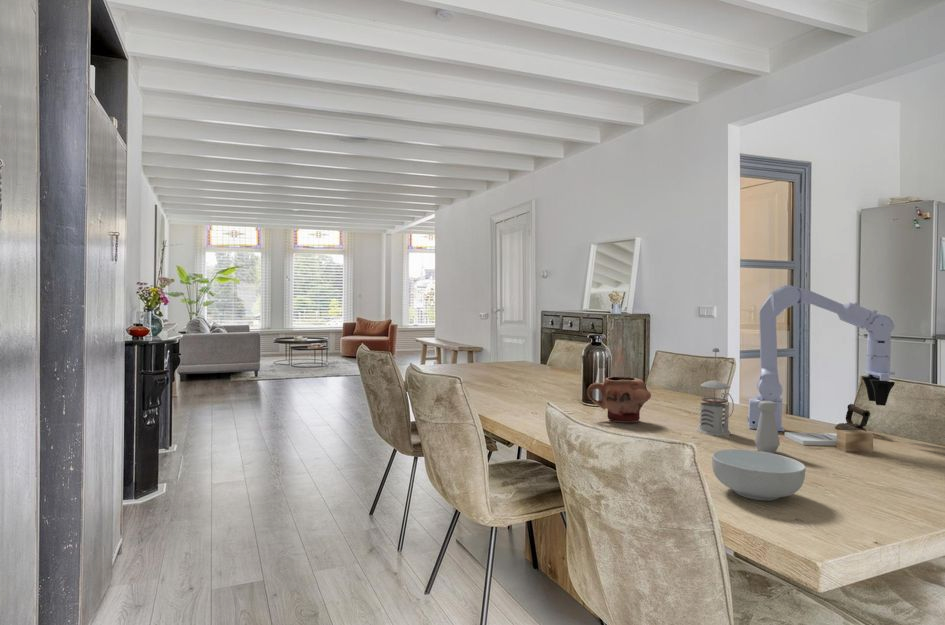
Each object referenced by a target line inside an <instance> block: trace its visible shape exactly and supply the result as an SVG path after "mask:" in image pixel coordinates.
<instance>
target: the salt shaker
mask: <svg viewBox="0 0 945 625" xmlns="http://www.w3.org/2000/svg"><path fill="white" fill-rule="evenodd" d="M758 407H759V409H760V410H761V413H760V417H759V422H758V427H757V429H756V432H755V435H754V436H755V438H754V444H755V446H756V449H757V450H756V451H762V452H768V453H773V454H776V452H777V450H778V449H779V446H780V445H781V443H780V437H779V431H777V426H776V421H775V415H774V412H775V411H777V404H776V403H775V402H772V401H761V402H759V405H758Z"/></svg>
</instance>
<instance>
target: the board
mask: <svg viewBox="0 0 945 625" xmlns="http://www.w3.org/2000/svg"><path fill="white" fill-rule="evenodd" d="M784 437H785V438H787V439H789V440H791V441H794V442H796V443H798V444H800V445H803V446H828V447H831V446H832V447H833V446H835V447H836V441H837V432H836V433H833V432H832V433H831V432H830V433H829V432H826V433H825V432H823V433H822V432H791V431H790V432H789V431H788V432H787V431H786V432H785V431H784Z"/></svg>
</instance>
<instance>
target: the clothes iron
mask: <svg viewBox="0 0 945 625" xmlns="http://www.w3.org/2000/svg"><path fill="white" fill-rule="evenodd" d="M854 413H856V414H858V415H859V416H862V418H861V420H860V424H858V423H853V421H852V417H853V414H854ZM870 416H871V411H869V410H865V409H863V408H860V407H859V406H857V405H856V404H853V403H850V404H848V405H847V412H846V414H845V421H846V422H845V423H844V422H842V423H838V424H836V425H835V426H834V429H835V430H836V431H837V430H863V431H867V432H868V430H867V429H866V428H865V427H866V426H867V424H868V421H869V418H870Z"/></svg>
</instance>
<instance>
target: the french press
mask: <svg viewBox="0 0 945 625" xmlns="http://www.w3.org/2000/svg"><path fill="white" fill-rule="evenodd" d="M711 350H712V351H711V352H712V353H714V379H713V380H708V381H705V382H703V383H701V384H700V387H701V388H703V389H707V390H708V389H709V390H713V392H714V393H713V394H714V395H713V396H712V397H709V396H708V397H702V398H701V400H702V401H703V402H701V403H700V406H699V411H700V414H699V416H700V417H699V424H700V425H699V427H698V428H697V429H696V430H697V431H696V432H697V433H699V432H700V433H699V434H702V433H704V434H703V435H706V434H708V435H707V436H714V435H716V436H717V437H726V435H728V436H731V435H732V434H731V433H732V432H731V431H730V430H729V418H730V417H732V415H733V413H734V409H735V408H734V406H735V404H734V399H733V398H732V395H731V394H730V393H729V392H726V393H724V392H722V393H721V396H720V397H721V398H720V397H716V390H718V391H719V390H724V391H725V390H729V389H730V386H729V385H728V384H727V383H725V382H724V381H719V380H717V379H716V378H717V377H716V376H717V375H716V374H717V370H716V369H717V353H720V349H719V348H717V347H715V348H712V349H711ZM728 396H729V397H730V399H731V402H732V409H731V413H729V412H730V403H729V400H728ZM726 403H727V404H726ZM729 414H730V415H729ZM723 422H724V423H723ZM730 434H731V435H730ZM724 435H725V436H724ZM716 436H715V437H716Z"/></svg>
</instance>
